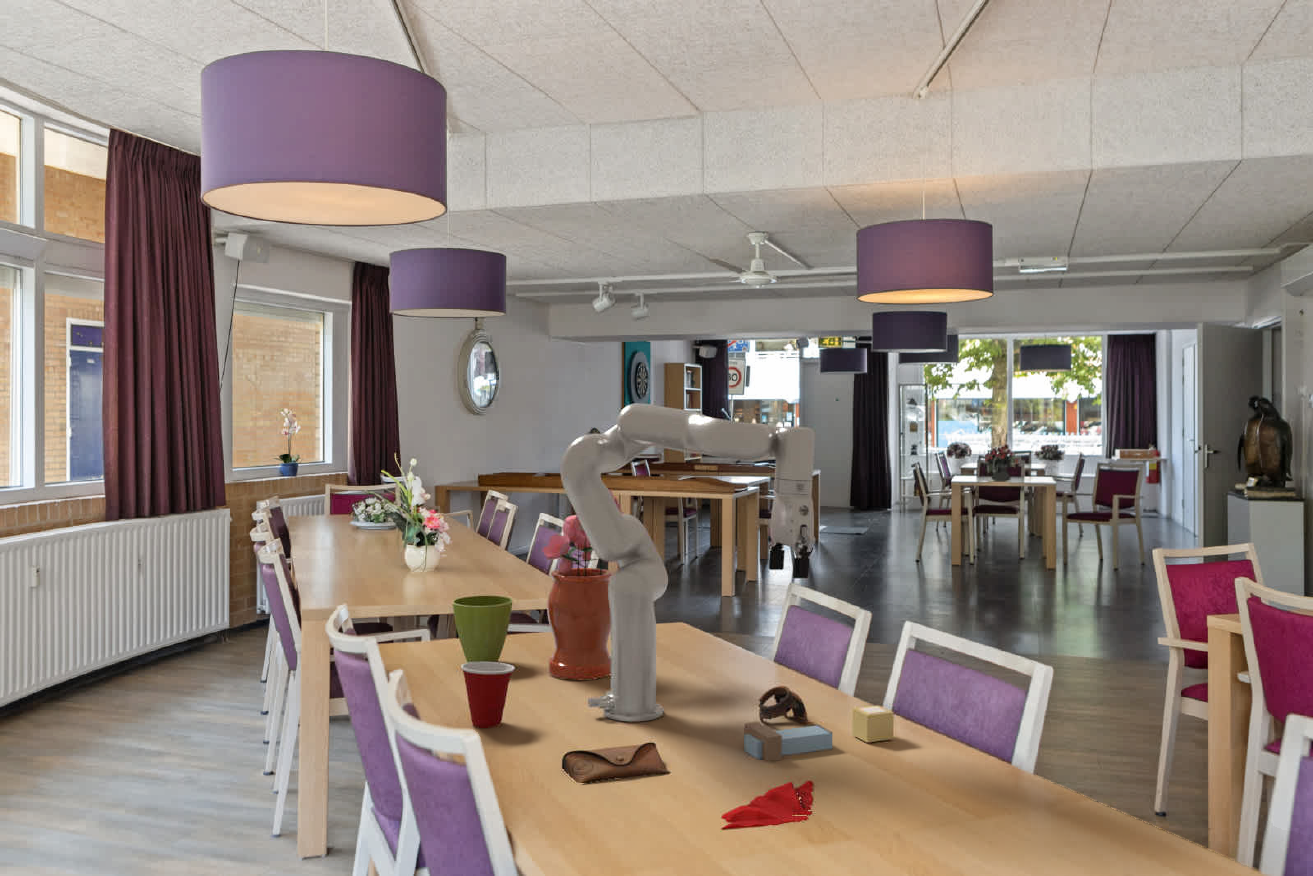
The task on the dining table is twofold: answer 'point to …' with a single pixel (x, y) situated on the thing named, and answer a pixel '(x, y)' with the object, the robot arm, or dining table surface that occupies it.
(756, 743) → the banded blue brick
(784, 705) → the brown looped band
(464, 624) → the flower pot
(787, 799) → the cloth
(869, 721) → the stub
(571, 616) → the potted flower
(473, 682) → the plastic cup
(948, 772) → the dining table surface
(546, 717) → the dining table surface
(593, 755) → the sunglasses case
